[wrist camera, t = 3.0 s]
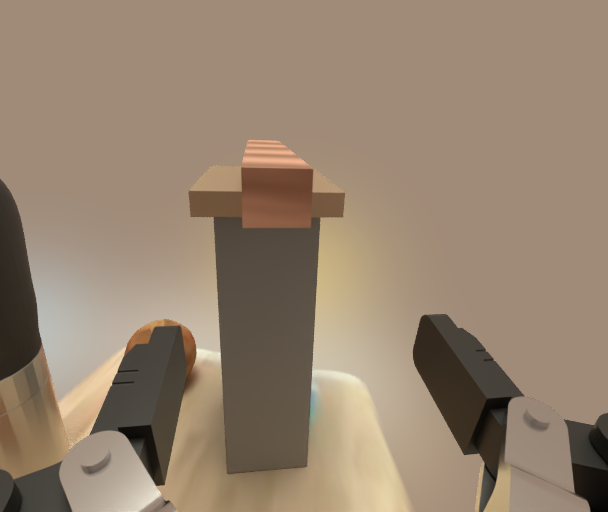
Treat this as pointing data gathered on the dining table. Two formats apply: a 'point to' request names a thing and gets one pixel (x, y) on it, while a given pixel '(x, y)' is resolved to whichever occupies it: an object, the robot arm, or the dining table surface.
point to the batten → (275, 187)
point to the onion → (145, 332)
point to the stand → (264, 321)
